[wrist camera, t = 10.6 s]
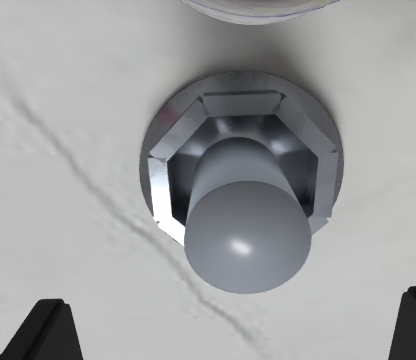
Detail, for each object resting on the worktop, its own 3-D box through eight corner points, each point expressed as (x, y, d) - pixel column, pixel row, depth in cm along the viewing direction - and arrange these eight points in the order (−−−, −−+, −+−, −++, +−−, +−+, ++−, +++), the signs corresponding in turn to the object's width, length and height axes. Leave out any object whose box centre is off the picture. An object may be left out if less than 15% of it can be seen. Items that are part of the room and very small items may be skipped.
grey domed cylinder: (281, 135, 18) (317, 183, 12) (277, 214, 20) (305, 293, 14) (192, 137, 18) (179, 185, 12) (196, 215, 20) (187, 294, 14)
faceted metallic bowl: (330, 256, 22) (341, 276, 20) (151, 259, 22) (145, 278, 20) (353, 66, 17) (369, 68, 15) (128, 75, 18) (117, 78, 16)
